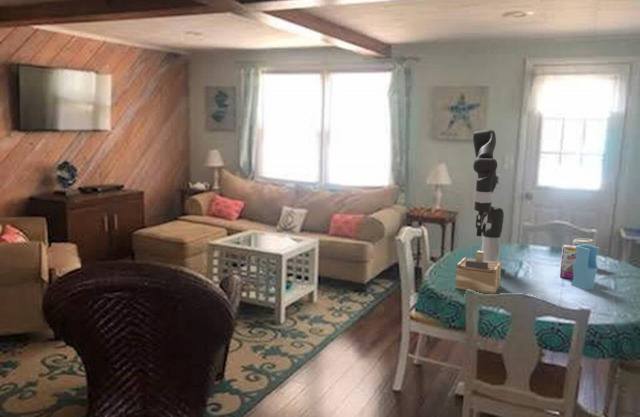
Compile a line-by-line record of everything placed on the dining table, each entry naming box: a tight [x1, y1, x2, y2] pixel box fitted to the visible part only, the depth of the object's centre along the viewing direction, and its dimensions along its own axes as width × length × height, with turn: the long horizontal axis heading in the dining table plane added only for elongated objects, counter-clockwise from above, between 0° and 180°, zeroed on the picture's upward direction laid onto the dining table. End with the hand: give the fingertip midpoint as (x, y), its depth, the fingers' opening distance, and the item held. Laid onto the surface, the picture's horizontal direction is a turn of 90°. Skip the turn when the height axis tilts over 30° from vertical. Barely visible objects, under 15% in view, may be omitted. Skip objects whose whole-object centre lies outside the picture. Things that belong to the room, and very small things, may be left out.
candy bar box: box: [559, 244, 577, 280], centre depth 280 cm, size 11×5×16 cm, turn 71°
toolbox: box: [455, 256, 503, 295], centre depth 264 cm, size 15×18×12 cm
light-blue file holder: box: [570, 244, 600, 291], centre depth 265 cm, size 8×8×20 cm
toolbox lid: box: [460, 257, 498, 272], centre depth 263 cm, size 15×15×4 cm
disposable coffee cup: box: [572, 238, 595, 246], centre depth 302 cm, size 11×11×15 cm
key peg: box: [475, 250, 484, 262], centre depth 263 cm, size 3×3×10 cm
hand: (481, 234), depth 261 cm, fingers open, 8 cm apart
